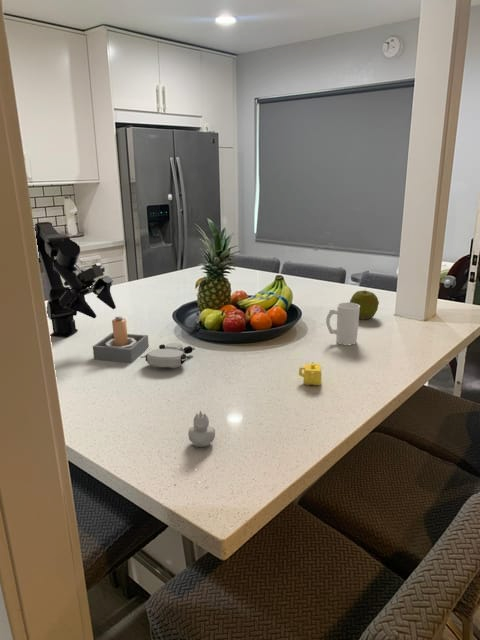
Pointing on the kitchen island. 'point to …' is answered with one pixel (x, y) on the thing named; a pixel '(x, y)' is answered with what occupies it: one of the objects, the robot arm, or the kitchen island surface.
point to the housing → (121, 348)
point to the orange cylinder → (120, 331)
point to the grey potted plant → (201, 431)
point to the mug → (345, 322)
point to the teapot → (311, 373)
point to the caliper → (197, 317)
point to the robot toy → (168, 355)
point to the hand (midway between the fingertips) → (105, 312)
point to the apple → (365, 303)
